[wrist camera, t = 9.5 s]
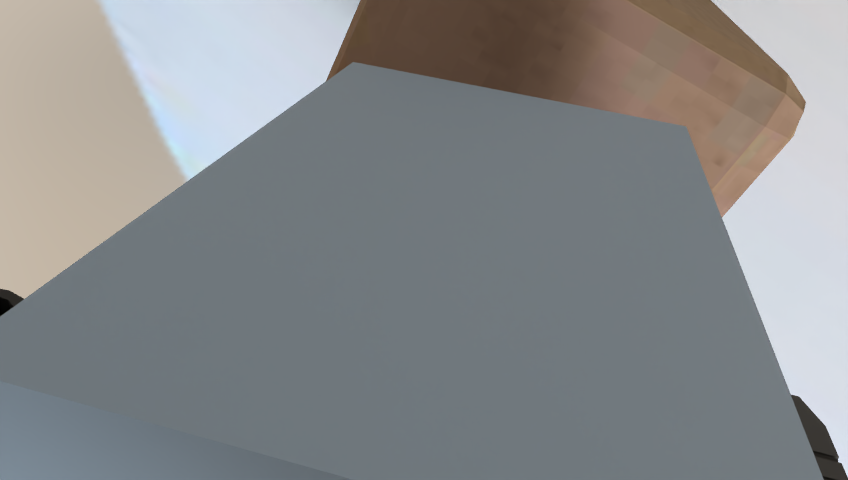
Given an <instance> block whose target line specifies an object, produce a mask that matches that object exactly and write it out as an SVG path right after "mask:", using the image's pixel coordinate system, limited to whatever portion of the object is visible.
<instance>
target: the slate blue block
mask: <svg viewBox="0 0 848 480" xmlns="http://www.w3.org/2000/svg"><path fill="white" fill-rule="evenodd" d="M0 480H824V479H823V477H822V474H821V471H820V469H819V466H818V464H817V461H816V459H815V456H814V453H813V451H812V448H811V446H810V443H809V441H808V438H807V435H806V433H805V430H804V428H803V425H802V423H801V420H800V417H799V415H798V412H797V410H796V407H795V405H794V402H793V399H792V397H791V394H790V392H789V389H788V387H787V384H786V382H785V379H784V376H783V374H782V371H781V369H780V366H779V364H778V361H777V358H776V356H775V353H774V351H773V348H772V346H771V343H770V340H769V338H768V335H767V333H766V330H765V328H764V325H763V322H762V320H761V317H760V315H759V312H758V310H757V307H756V304H755V302H754V299H753V297H752V294H751V292H750V289H749V286H748V284H747V281H746V279H745V276H744V274H743V271H742V269H741V266H740V263H739V261H738V258H737V256H736V253H735V251H734V248H733V245H732V243H731V240H730V238H729V235H728V233H727V230H726V227H725V225H724V222H723V220H722V217H721V215H720V212H719V209H718V207H717V204H716V202H715V199H714V197H713V194H712V191H711V189H710V186H709V184H708V181H707V179H706V176H705V174H704V171H703V168H702V166H701V163H700V161H699V158H698V156H697V153H696V150H695V148H694V145H693V143H692V140H691V138H690V135H689V132H688V130H687V127H686V126H682V125H677V124H671V123H666V122H661V121H656V120H651V119H646V118H640V117H635V116H630V115H625V114H620V113H615V112H609V111H604V110H599V109H594V108H589V107H584V106H578V105H573V104H568V103H563V102H558V101H553V100H547V99H542V98H537V97H532V96H527V95H522V94H516V93H511V92H506V91H501V90H496V89H491V88H486V87H480V86H475V85H470V84H465V83H460V82H455V81H449V80H444V79H439V78H434V77H429V76H424V75H418V74H413V73H408V72H403V71H398V70H393V69H387V68H382V67H377V66H372V65H367V64H362V63H356V62H352V63H351V64H350V65H348V66H347V67H345V68H344V69H343V70H341V71H340V72H339V73H337V74H336V75H334V76H333V77H332V78H330V79H329V80H327V81H326V82H325V83H323V84H322V85H320V86H319V87H318V88H316V89H315V90H314V91H312V92H311V93H309V94H308V95H307V96H305V97H304V98H302V99H301V100H300V101H298V102H297V103H296V104H294V105H293V106H291V107H290V108H289V109H287V110H286V111H284V112H283V113H282V114H280V115H279V116H278V117H276V118H275V119H273V120H272V121H271V122H269V123H268V124H266V125H265V126H264V127H262V128H261V129H260V130H258V131H257V132H255V133H254V134H253V135H251V136H250V137H248V138H247V139H246V140H244V141H243V142H241V143H240V144H239V145H237V146H236V147H235V148H233V149H232V150H230V151H229V152H228V153H226V154H225V155H223V156H222V157H221V158H219V159H218V160H217V161H215V162H214V163H212V164H211V165H210V166H208V167H207V168H205V169H204V170H203V171H201V172H200V173H199V174H197V175H196V176H194V177H193V178H192V179H190V180H189V181H187V182H186V183H185V184H183V185H182V186H181V187H179V188H178V189H176V190H175V191H174V192H172V193H171V194H169V195H168V196H167V197H165V198H164V199H162V200H161V201H160V202H158V203H157V204H156V205H154V206H153V207H151V208H150V209H149V210H147V211H146V212H144V213H143V214H142V215H141V216H139V217H138V218H136V219H135V220H133V221H132V222H131V223H129V224H128V225H126V226H125V227H124V228H122V229H121V230H120V231H118V232H117V233H115V234H114V235H113V236H111V237H110V238H109V239H107V240H106V241H105V242H103V243H101V244H100V245H99V246H97V247H96V248H95V249H93V250H92V251H90V252H89V253H88V254H86V255H85V256H83V257H82V258H81V259H79V260H78V261H77V262H75V263H74V264H72V265H71V266H70V267H68V268H67V269H65V270H64V271H63V272H61V273H60V274H59V275H57V276H56V277H55V278H53V279H52V280H50V281H49V282H47V283H46V284H45V285H43V286H42V287H41V288H39V289H38V290H36V291H35V292H34V293H32V294H31V295H29V296H28V297H27V298H25V299H24V300H22V301H21V302H20V303H18V304H17V305H16V306H14V307H13V308H11V309H10V310H9V311H7V312H6V313H4V314H3V315H2V316H0Z"/></svg>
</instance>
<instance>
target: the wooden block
mask: <svg viewBox="0 0 848 480" xmlns="http://www.w3.org/2000/svg"><path fill="white" fill-rule="evenodd" d="M352 62H356V63H362V64H367V65H372V66H377V67H382V68H387V69H393V70H398V71H403V72H408V73H413V74H418V75H424V76H429V77H434V78H439V79H444V80H449V81H455V82H460V83H465V84H470V85H475V86H480V87H486V88H491V89H496V90H501V91H506V92H511V93H516V94H522V95H527V96H532V97H537V98H542V99H547V100H553V101H558V102H563V103H568V104H573V105H578V106H584V107H589V108H594V109H599V110H604V111H609V112H615V113H620V114H625V115H630V116H635V117H640V118H646V119H651V120H656V121H661V122H666V123H671V124H677V125H682V126H686V127H687V130H688V132H689V135H690V138H691V140H692V143H693V145H694V148H695V150H696V153H697V156H698V158H699V161H700V163H701V166H702V168H703V171H704V174H705V176H706V179H707V181H708V184H709V186H710V189H711V191H712V194H713V197H714V199H715V202H716V204H717V207H718V209H719V212H720V215H721V217H723V216H724V215H725V213H726V212H727V211H728V210H729V209H730V208H731V207H732V205H733V204H734V203H735V202H736V201H737V200H738V199H739V197H740V196H741V195H742V194H743V193H744V192H745V191H746V189H747V188H748V187H749V186H750V185H751V184H752V183H753V182H754V180H755V179H756V178H757V177H758V176H759V175H760V174H761V172H762V171H763V170H764V169H765V168H766V167H767V166H768V164H769V163H770V162H771V161H772V160H773V159H774V158H775V156H776V155H777V154H778V153H779V152H780V151H781V150H782V149H783V147H784V146H785V145H786V144H787V143H788V142H789V141H790V139H791V138H792V137H793V136H794V133H795V131H796V128H797V125H798V122H799V120H800V118H801V116H802V114H803V112H804V108H805V103H806V102H805V100H804V98H803V97H802V95H801V94H800V92H799V91H798V89H797V87H796V86H795V84H794V83H793V81H792V80H791V78H790V77H789V75H788V74H787V73H786V72H785V71H784V70H783V69H782V68H781V67H780V66H779V65H778V64H777V63H776V62H775V61H774V60H773V59H772V58H771V57H770V56H769V55H767V54H766V53H765V52H764V51H763V50H762V49H761V48H760V47H759V46H758V45H757V44H756V43H755V42H754V41H753V40H752V39H751V38H750V37H749V36H748V35H746V34H745V33H744V32H743V31H742V30H741V29H740V28H739V27H738V26H737V25H736V24H735V23H734V22H733V21H732V20H731V19H730V18H729V17H728V16H727V15H726V14H724V13H723V12H722V11H721V10H720V9H719V8H718V7H717V6H716V5H715V4H714V3H713V2H712V1H711V0H361V1H360V3H359V5H358V8H357V10H356V12H355V15H354V17H353V19H352V22H351V24H350V26H349V29H348V31H347V33H346V36H345V38H344V40H343V43H342V45H341V48H340V50H339V52H338V55H337V57H336V59H335V62H334V64H333V66H332V69H331V71H330V73H329V76H328V78H327V80H329V79H330V78H332V77H333V76H334V75H336V74H337V73H339V72H340V71H341V70H343V69H344V68H345V67H347V66H348V65H350V64H351V63H352ZM327 80H326V81H327Z"/></svg>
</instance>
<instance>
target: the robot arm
mask: <svg viewBox="0 0 848 480" xmlns="http://www.w3.org/2000/svg"><path fill="white" fill-rule="evenodd" d="M22 300H24V299H23V298H22V297H20V296H18V295H16V294H14V293H13V292H11V291H9V290H3V289H0V316H2V315H3V314H4V313H6V312H7V311H9V310H10V309H11V308H13V307H14V306H16V305H17V304H18V303H20V302H21V301H22ZM791 397H792V399H793V402H794V405H795V407H796V410H797V412H798V415H799V417H800V420H801V423H802V425H803V428H804V430H805V433H806V435H807V438H808V441H809V443H810V446H811V448H812V451H813V453H814V456H815V459H816V461H817V464H818V466H819V469H820V471H821V474H822V477H823V479H824V480H848V477H847V475H846V473H845V470H844V468H843V466H842V463H839V462H838V458H839V456H838V454H837V452H836V450H835V447H834V445H833V443H832V440H831V438H830V436H829V433H828V431H827V429H826V426H825V425H824V424H823V423H822V422H821V421H820V420H819V418H818V417H817V416H816V415H815V414H814V413H813V412H812V411H811V410H810V408H809V407H808V406H807V405H806V404H805V403H804V402H803V401H802V400H801V398H800V397H798V396H794V395H791Z"/></svg>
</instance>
